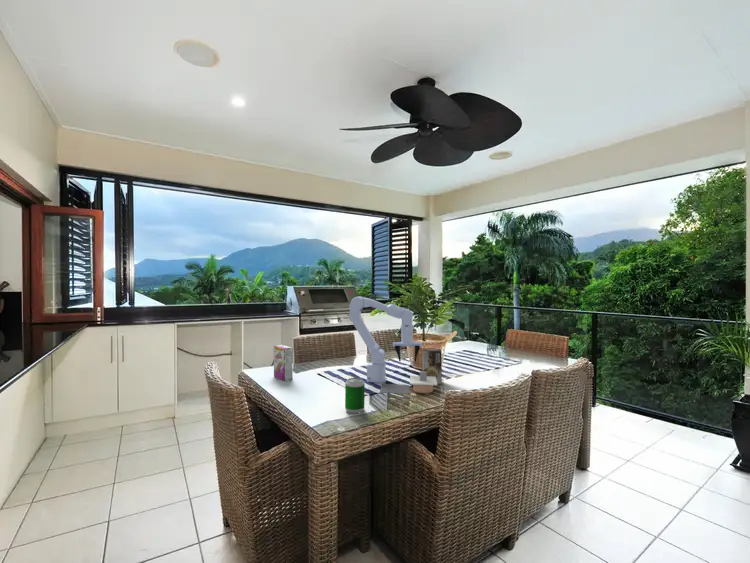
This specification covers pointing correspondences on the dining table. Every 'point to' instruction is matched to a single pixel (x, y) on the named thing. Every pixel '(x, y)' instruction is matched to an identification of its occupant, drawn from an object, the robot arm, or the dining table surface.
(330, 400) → the dining table surface
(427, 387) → the bowl
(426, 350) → the coffee box
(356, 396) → the soda can
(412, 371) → the dining table surface
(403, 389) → the mat
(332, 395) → the dining table surface
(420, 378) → the cover
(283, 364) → the candy bar box
